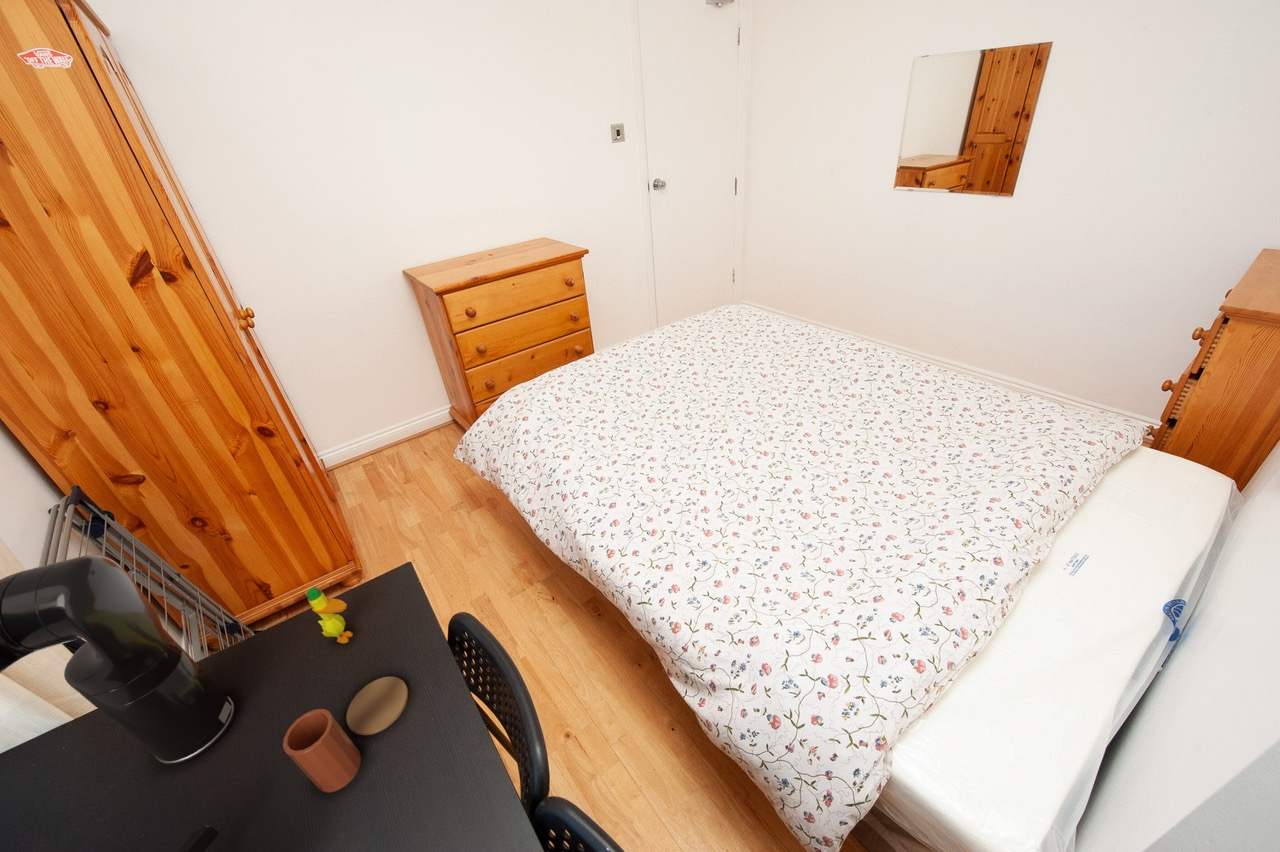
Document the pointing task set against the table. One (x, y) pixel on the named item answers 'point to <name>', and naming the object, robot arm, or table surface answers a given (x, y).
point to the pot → (322, 750)
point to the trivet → (377, 705)
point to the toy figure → (329, 614)
